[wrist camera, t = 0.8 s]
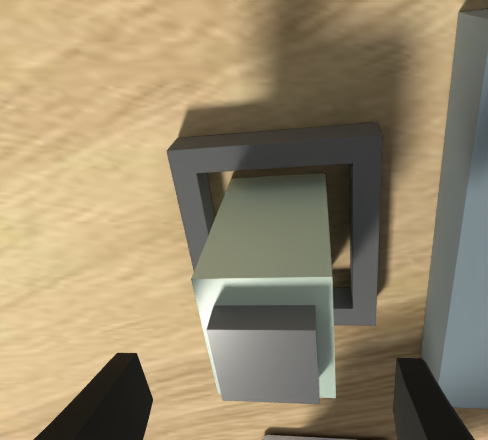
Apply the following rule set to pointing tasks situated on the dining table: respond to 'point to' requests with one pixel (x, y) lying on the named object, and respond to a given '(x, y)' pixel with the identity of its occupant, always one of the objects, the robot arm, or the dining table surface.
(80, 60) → the dining table surface
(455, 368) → the port block
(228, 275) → the plug
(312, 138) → the grey rectangular frame
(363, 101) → the dining table surface
